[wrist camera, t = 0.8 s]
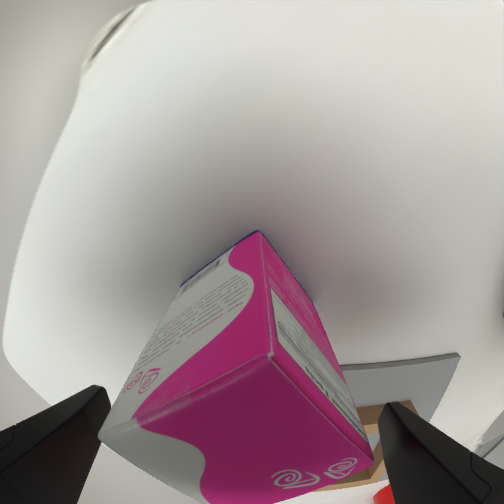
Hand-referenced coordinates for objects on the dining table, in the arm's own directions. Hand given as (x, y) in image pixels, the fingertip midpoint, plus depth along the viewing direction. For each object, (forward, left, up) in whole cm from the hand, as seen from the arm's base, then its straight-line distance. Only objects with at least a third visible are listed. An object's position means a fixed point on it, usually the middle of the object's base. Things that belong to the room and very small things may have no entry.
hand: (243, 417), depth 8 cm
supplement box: (0, 0, -10) cm, 10 cm away
